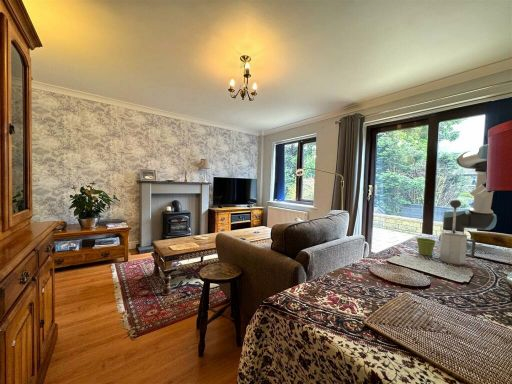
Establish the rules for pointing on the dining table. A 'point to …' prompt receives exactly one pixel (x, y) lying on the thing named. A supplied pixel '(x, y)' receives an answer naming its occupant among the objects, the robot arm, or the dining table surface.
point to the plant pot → (425, 246)
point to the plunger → (455, 205)
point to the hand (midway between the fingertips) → (475, 195)
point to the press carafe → (455, 247)
